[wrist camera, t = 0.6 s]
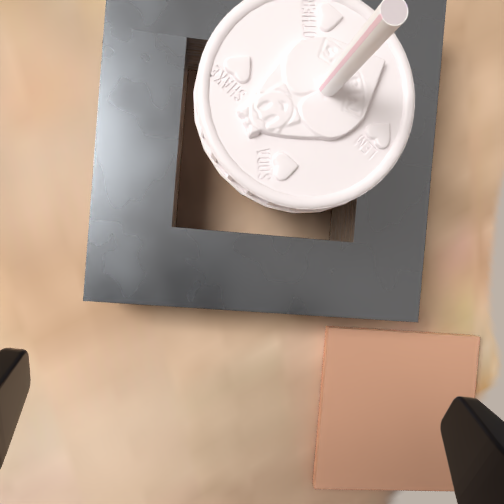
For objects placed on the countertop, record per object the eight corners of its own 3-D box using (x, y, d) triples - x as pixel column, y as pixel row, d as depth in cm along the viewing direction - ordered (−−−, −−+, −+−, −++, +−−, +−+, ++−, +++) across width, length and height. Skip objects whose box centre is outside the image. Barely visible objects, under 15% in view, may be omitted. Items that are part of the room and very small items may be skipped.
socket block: (384, 309, 23) (417, 322, 20) (101, 291, 21) (83, 300, 18) (408, 33, 23) (446, -4, 20) (124, -9, 21) (110, -57, 18)
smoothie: (344, 190, 23) (576, 114, 9) (228, 245, 22) (284, 255, 8) (291, 70, 22) (449, -208, 8) (171, 123, 22) (128, -84, 8)
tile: (460, 486, 24) (465, 491, 23) (312, 483, 23) (314, 488, 22) (474, 335, 24) (480, 336, 23) (325, 326, 23) (328, 327, 22)
